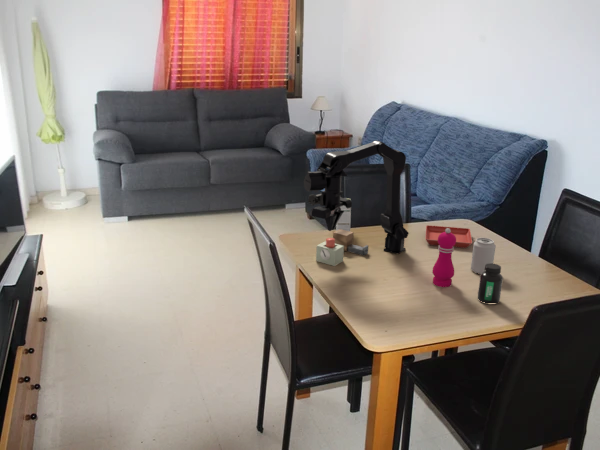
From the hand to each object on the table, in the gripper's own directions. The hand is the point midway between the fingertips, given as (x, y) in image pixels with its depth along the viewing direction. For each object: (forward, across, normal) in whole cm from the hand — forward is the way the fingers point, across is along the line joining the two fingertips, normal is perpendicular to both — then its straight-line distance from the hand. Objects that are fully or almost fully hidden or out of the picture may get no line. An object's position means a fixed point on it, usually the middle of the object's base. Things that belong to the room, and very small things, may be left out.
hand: (330, 230), depth 216 cm
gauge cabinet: (+12, 0, 0) cm, 12 cm away
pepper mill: (+12, -7, +41) cm, 43 cm away
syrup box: (+12, -29, -12) cm, 34 cm away
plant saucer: (+13, -49, +26) cm, 57 cm away
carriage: (+12, -14, -3) cm, 19 cm away
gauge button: (+7, 0, 0) cm, 7 cm away
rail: (+12, -14, 0) cm, 18 cm away
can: (+12, -26, +48) cm, 56 cm away
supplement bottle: (+12, -4, +58) cm, 59 cm away
